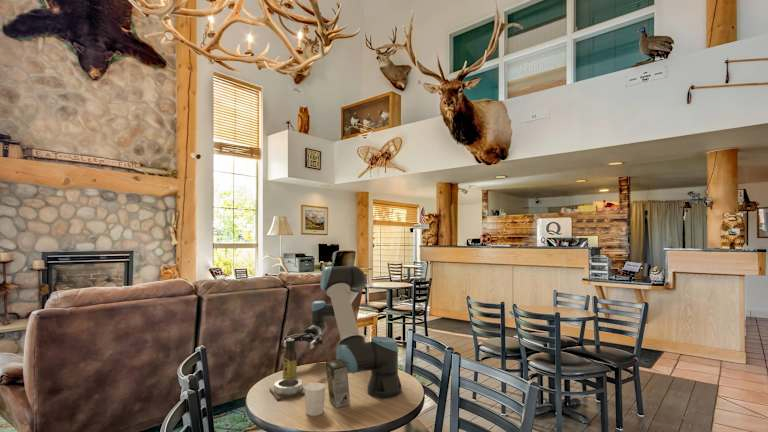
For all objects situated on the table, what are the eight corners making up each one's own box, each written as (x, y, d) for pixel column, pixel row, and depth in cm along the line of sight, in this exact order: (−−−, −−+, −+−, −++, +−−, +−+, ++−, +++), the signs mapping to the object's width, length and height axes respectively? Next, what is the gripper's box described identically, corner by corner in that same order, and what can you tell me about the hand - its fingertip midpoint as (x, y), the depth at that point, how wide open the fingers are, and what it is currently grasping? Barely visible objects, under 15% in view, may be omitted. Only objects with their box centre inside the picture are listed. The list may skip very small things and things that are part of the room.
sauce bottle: (281, 380, 193) (282, 338, 193) (295, 379, 195) (295, 336, 196) (283, 385, 187) (284, 341, 187) (297, 383, 189) (298, 340, 190)
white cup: (320, 417, 156) (320, 391, 156) (301, 415, 157) (301, 389, 157) (327, 408, 163) (327, 383, 164) (308, 407, 165) (309, 381, 165)
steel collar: (305, 391, 177) (305, 384, 177) (279, 397, 172) (279, 390, 172) (296, 383, 187) (296, 376, 187) (271, 388, 181) (271, 381, 182)
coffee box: (328, 399, 172) (325, 361, 171) (343, 395, 174) (339, 358, 174) (335, 408, 163) (332, 368, 163) (350, 404, 166) (347, 364, 166)
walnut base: (307, 394, 177) (307, 392, 177) (277, 400, 170) (277, 398, 171) (297, 384, 188) (297, 382, 188) (269, 390, 182) (269, 387, 182)
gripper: (334, 342, 220) (321, 354, 199) (290, 339, 224) (273, 351, 203) (334, 328, 220) (322, 338, 199) (290, 325, 225) (273, 336, 204)
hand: (297, 345), depth 201 cm, fingers open, 13 cm apart
